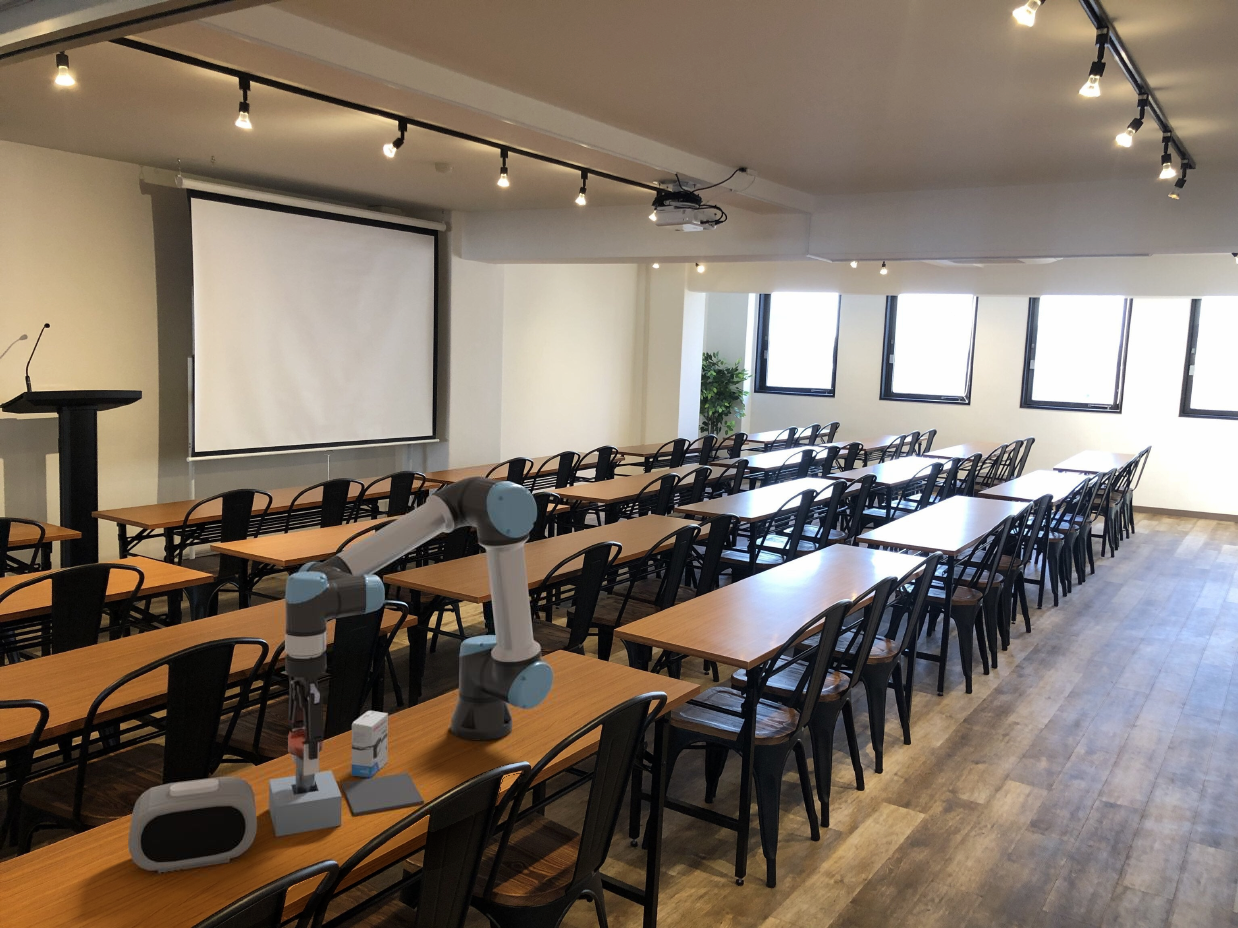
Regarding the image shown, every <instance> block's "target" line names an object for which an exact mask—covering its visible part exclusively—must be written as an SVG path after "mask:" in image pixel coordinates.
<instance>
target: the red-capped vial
mask: <svg viewBox="0 0 1238 928" xmlns="http://www.w3.org/2000/svg"><path fill="white" fill-rule="evenodd" d="M287 738H288V739H287V744H288V745H287V751H288V753H289V754H290V755H291V756H292V755H295V756H296V762H295V776H296V794H302V793H308V792H315V774H311V775H306V776H305V775H304V745H303V744H302V741H306V737H305V728H302V729H298V730H295V731H289V733H288V736H287ZM323 743H324V741H323V742H319V753H320V752H321V751H322V750H323V748H324V747H323Z"/></svg>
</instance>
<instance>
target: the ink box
mask: <svg viewBox="0 0 1238 928" xmlns="http://www.w3.org/2000/svg"><path fill="white" fill-rule="evenodd" d="M388 725H389V713H388V712H380V711H375V710H368V711H366V712H365V713H363V714H362V715H360V716H359V717H358V718H357V719H355V720H354V721H353V722H352V724H351V765H350V767H351V771H350V773H351V774H350V775H351V776H353V777H360V778H361V777H363V778H367V779H369V778H373V777H374V775H376V773H378V772H379V770H381V768H383V767H384V766H385V765H386V764H387V762H388V732H389V731H388V730H389V729H388V727H389V726H388Z"/></svg>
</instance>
